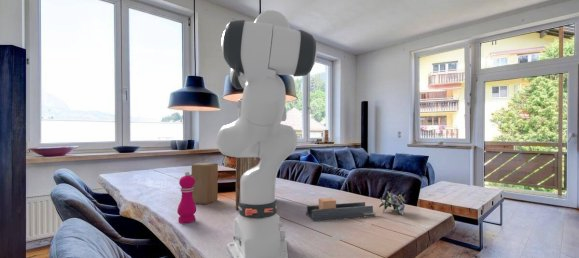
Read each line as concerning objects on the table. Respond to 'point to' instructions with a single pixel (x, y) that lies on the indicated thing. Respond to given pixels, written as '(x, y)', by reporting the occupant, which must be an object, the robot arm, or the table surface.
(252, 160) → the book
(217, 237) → the table surface
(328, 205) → the block
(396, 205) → the grey-green leafy rounded clump
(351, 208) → the chute
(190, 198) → the pepper mill
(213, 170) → the wooden block
